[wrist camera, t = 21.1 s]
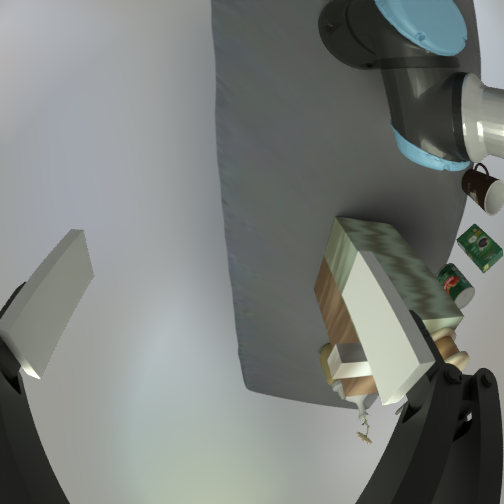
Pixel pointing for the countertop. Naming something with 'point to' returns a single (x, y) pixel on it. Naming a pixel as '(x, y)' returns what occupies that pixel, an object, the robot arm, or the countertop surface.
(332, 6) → the robot arm
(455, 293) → the canned tomato
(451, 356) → the bobbin
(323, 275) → the stand
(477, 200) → the coffee mug
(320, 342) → the countertop surface
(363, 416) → the flower in vase
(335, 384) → the squeeze bottle
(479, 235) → the coffee box
